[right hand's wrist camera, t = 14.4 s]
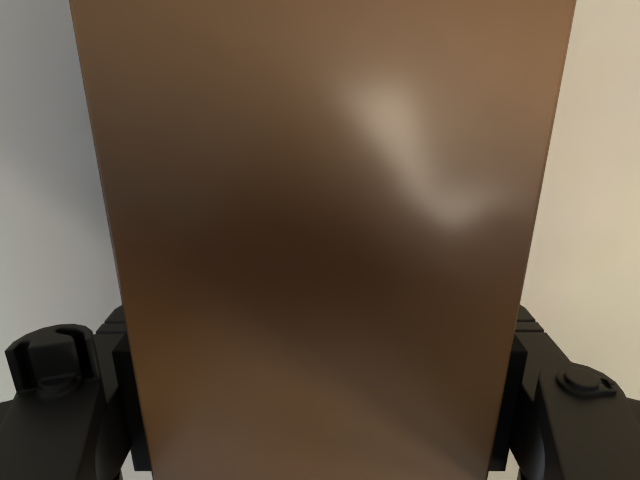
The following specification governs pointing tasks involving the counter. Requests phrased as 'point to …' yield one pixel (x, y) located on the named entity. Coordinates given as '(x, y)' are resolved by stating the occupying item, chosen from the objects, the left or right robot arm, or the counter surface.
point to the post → (321, 223)
